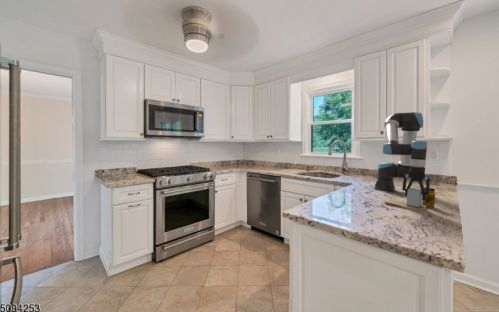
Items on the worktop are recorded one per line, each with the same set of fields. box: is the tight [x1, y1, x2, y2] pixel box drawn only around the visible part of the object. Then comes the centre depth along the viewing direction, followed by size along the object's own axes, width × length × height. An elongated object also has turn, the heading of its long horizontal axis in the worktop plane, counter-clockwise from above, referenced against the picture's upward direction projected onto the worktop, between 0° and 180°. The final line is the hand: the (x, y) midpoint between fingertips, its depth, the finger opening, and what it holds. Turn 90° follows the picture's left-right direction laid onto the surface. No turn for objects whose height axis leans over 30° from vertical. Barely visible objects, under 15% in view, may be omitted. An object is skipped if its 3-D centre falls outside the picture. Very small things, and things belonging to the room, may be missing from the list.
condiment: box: [423, 187, 438, 210], centre depth 139 cm, size 7×8×12 cm
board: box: [384, 198, 427, 213], centre depth 139 cm, size 12×19×2 cm, turn 40°
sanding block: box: [406, 187, 422, 208], centre depth 135 cm, size 8×6×10 cm
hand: (414, 203), depth 135 cm, fingers closed on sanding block, 6 cm apart
